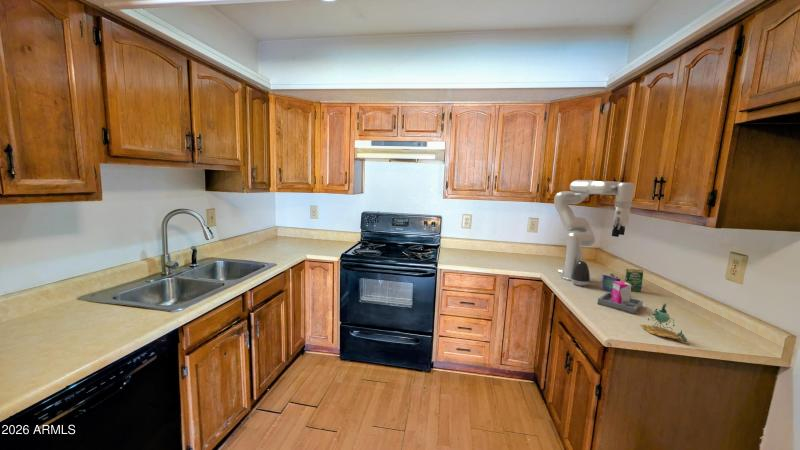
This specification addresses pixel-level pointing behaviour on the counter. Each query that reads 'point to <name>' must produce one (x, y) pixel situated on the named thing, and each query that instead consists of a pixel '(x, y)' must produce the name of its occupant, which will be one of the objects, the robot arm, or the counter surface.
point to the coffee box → (634, 279)
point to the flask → (608, 282)
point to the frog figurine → (662, 318)
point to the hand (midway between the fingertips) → (617, 235)
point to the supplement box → (621, 292)
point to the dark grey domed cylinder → (581, 274)
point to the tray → (632, 308)
